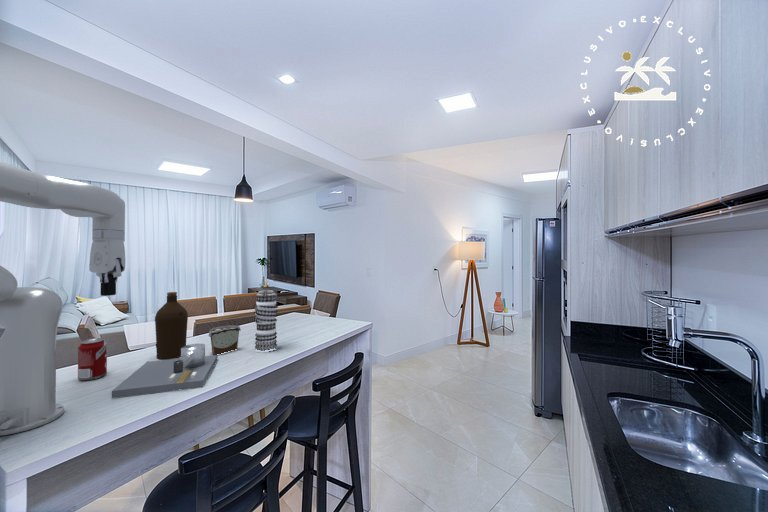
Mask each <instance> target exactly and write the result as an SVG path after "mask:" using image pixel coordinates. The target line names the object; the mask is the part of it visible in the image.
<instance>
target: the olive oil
mask: <svg viewBox="0 0 768 512" xmlns="http://www.w3.org/2000/svg"><path fill="white" fill-rule="evenodd" d="M177 294H178V292H177V291H170V292H169V291H168V292H166V302H165V304H163V305H162V306H161V307H160V308H159V309H158V310H157V312H156V314H155V316H154V326H155V327H154V329H155V349H156V359H158V360H170V359H179V358H181V347H183V346H186V345H187V336H188V335H187V334H188V333H187V332H188V319H189V317H188V316H189V314H188V312H187V309H186V308H185V307H184V306H183V305H181V303H179V302H178V295H177Z"/></svg>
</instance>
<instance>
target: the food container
mask: <svg viewBox="0 0 768 512" xmlns="http://www.w3.org/2000/svg"><path fill="white" fill-rule="evenodd" d="M240 332H241V327H240V325H223V326H222V325H221V326H217V327H212V328H210V329H209V332H208V337H210V344H211V354H212V355H217V354H221V353H224V352H228V351H231V350H235V349H237V350H238V346H239V337H240ZM212 355H211V356H212ZM221 355H222V354H221ZM217 356H218V355H217Z"/></svg>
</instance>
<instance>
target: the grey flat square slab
mask: <svg viewBox="0 0 768 512" xmlns="http://www.w3.org/2000/svg"><path fill="white" fill-rule="evenodd" d="M179 359H180V358H173V359H158V360H152V361H151V360H149V361H146V362H145V363H144V364H143V365H141V366H140V367H139V368H138V369H136V370H135V371H134V372H133V373H132V374H131V375H129V376H128V377H127V378H126V379H124V380H123V381H122V382H121V383H120V384H118V385H117V386H115V388H114V389H112V390H111V399H116V398H118V399H119V398H125V397H130V396H131V397H132V396H141V395H147V394H148V395H149V394H150V395H151V394H158V393H165V392H174V391H180V390H179V389H182V390H188V388H191V389H198V388H197V387H199V388H203V387H204V386H205V384H206V382H207V380H208V379H209V377H208V376H210V375H209V374H211V373H212V371H213V369H214V368H215V366H214V365H216V364H217V362H218V355H205V363H204V364H202V365H200V366H196V367H190V368H183V372H181V373H173V370H174V362H175V361H178V360H179ZM216 361H217V362H216ZM215 363H216V364H215ZM203 385H204V386H203ZM173 390H174V391H173ZM157 392H158V393H157Z"/></svg>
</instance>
